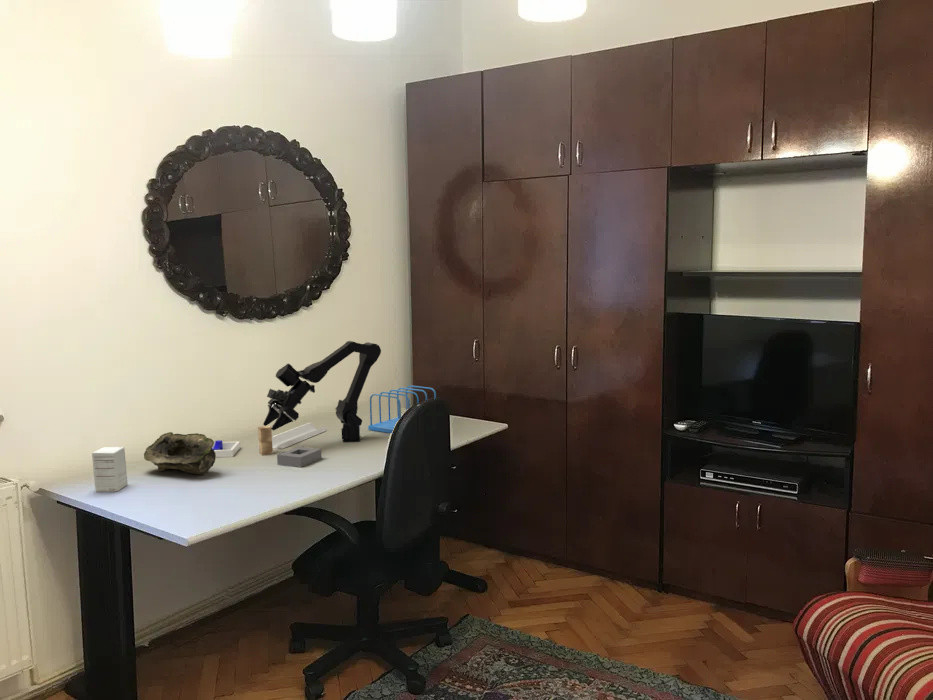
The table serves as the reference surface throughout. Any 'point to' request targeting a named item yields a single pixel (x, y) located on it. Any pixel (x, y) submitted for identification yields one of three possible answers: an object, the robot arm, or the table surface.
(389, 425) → the file sorter
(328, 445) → the table surface
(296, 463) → the end cap
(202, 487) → the table surface
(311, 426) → the crown molding
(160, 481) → the table surface
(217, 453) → the tray
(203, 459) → the hollow geode rock
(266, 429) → the tan wooden block
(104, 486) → the supplement box
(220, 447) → the cable holder
